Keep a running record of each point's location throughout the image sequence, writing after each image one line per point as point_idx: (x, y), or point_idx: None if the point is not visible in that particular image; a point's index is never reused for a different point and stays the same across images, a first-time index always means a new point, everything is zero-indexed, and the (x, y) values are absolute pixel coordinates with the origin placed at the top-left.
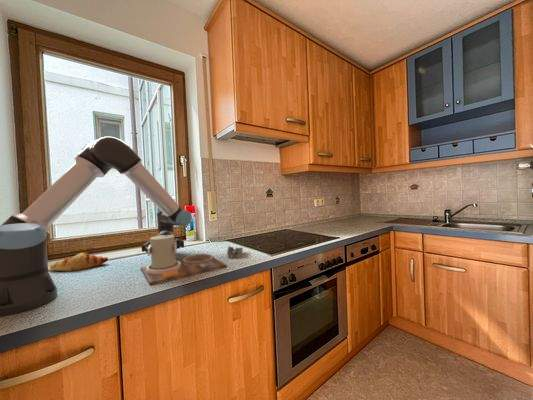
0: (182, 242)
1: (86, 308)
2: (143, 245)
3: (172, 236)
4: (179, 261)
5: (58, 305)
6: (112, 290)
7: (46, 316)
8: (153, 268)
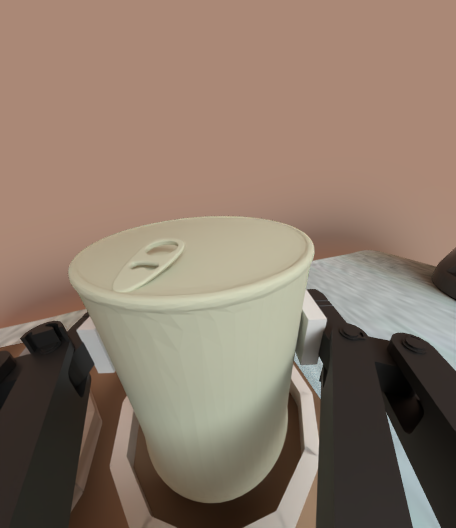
0: (6, 357)
1: (322, 264)
2: (402, 338)
3: (119, 238)
4: (115, 439)
5: (391, 277)
6: (333, 301)
7: (365, 261)
8: (283, 445)
